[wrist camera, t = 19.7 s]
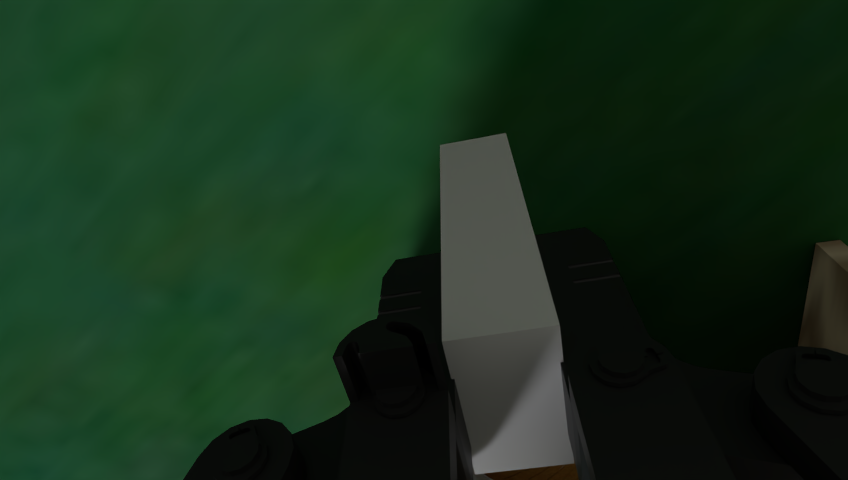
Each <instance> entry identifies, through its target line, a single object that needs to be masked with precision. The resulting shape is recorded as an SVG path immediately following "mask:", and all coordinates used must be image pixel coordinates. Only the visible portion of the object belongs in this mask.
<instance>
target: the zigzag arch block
mask: <svg viewBox="0 0 848 480" xmlns="http://www.w3.org/2000/svg"><path fill="white" fill-rule="evenodd" d="M798 346H804V347H815V348H826V349H829V350H833V351H836V352H839V353H842V354H846V355H848V246H847V245H845V244H844V243H843V242H842V241H841V240H836V241H828V242H820V243H816V245H815V251H814V257H813V262H812V268H811V274H810V279H809V285H808V291H807V296H806V302H805V308H804V314H803V319H802V325H801V331H800V336H799V342H798Z"/></svg>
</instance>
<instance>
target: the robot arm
mask: <svg viewBox="0 0 848 480" xmlns="http://www.w3.org/2000/svg"><path fill="white" fill-rule="evenodd" d="M440 201H441V253H435V254H429V255H423V256H416V257H410V258H404V259H398V260H395V262H394V263H393V264H392V266H391V267H390V269H389V270H388V271H387V273H386V274H385V275H384V277H383V281H382V288H381V295H380V297H381V300H380V302H379V309H378V313H379V315H378V316H377V319H375V320H371V321H368V322H366V323H365V324H363V325H361V326H359V327H357V328H356V329H354V330H352V331H351V332H350V333H349V334H348V335H347V336H346V337H345V338H344V339H343V340H342V341H341V342H340V343H339V345H338V347H337V349H336V351H335V353H334V355H333V360H334V362H335V365H336V367H337V370H338V372H339V375H340V378H341V380H342V383H343V385H344V388H345V390H346V393H347V396H348V398H349V401H350V406H349V407H347V408H346V409H345V410H343V411H342V412H341V413H339V414H338V415H336V416H334V417H332V418H330V419H328V420H326V421H324V422H322V423H319V424H317V425H314V426H312V427H309V428H307V429H304V430H302V431H299V432H297V433H294V434H291V432H290V431H289V430H288V429H287V428H286V427H285V426H284V425H283V424H282V423H280V422H277V421H274V420H270V419H258V420H249V421H246V422H244V423H241V424H239V425H236V426H234V427H231V428H229V429H228V430H227V431H225V432H224V433H222V434H221V435H220V436H218V437H217V438H215V439H214V440H213V441H212V442H211V443H210V444H209V445H208V446H207V448H206V449H205V450H204V451H203V452H202V453H201V454H200V456H199V457H198V458H197V460H196V461H195V463H194V464H193V466H192V467H191V469H190V470H189V472H188V473H187V475H186V476H185V478H184V479H183V480H473V468H474V472H475V474H484V473H493V472H502V471H511V470H520V469H529V468H538V467H547V466H556V465H565V464H574V461H575V465H576V469H577V473H578V480H848V355H846V354H842V353H839V352H836V351H833V350H829V349H826V348H815V347H804V346H798V347H791V348H785V349H779V350H776V351H775V352H773V353H771V354H769V355H767V356H766V357H764V358H762V359H761V361H760V362H759V364H758V366H757V367H756V369H755V371H754V374H751V373H742V372H733V371H723V370H714V369H709V368H703V367H698V366H694V365H691V364H688V363H685V362H683V361H680V360H678V359H676V358H674V357H673V355H672V354H671V353H670V352H669V351H668V349H667V348H666V347H665V346H664V345H662V344H660V343H659V342H657V341H655V340H654V339H652V338H651V337H650V336H649V334H648V332H647V330H646V328H645V326H644V324H643V322H642V320H641V317H640V315H639V313H638V311H637V309H636V307H635V305H634V303H633V301H632V298H631V296H630V294H629V292H628V290H627V288H626V286H625V284H624V282H623V279H622V277H620V274H619V271H618V269H617V267H616V265H615V263H614V262H613V259H612V256H611V254H610V252H609V250H608V248H607V246H606V244H605V242H604V240H603V239H601V238H600V237H598V236H597V235H595V234H594V233H593V232H591V231H590V230H588V229H587V228H585V227H584V228H578V229H571V230H565V231H559V232H553V233H547V234H541V235H534V231H533V228H532V224H531V221H530V217H529V214H528V210H527V207H526V203H525V199H524V196H523V192H522V189H521V185H520V182H519V178H518V174H517V171H516V167H515V164H514V160H513V157H512V153H511V150H510V146H509V142H508V139H507V135H506V133H503V134H497V135H492V136H487V137H481V138H476V139H470V140H465V141H460V142H454V143H449V144H443V145H440ZM472 464H473V468H472Z"/></svg>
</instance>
